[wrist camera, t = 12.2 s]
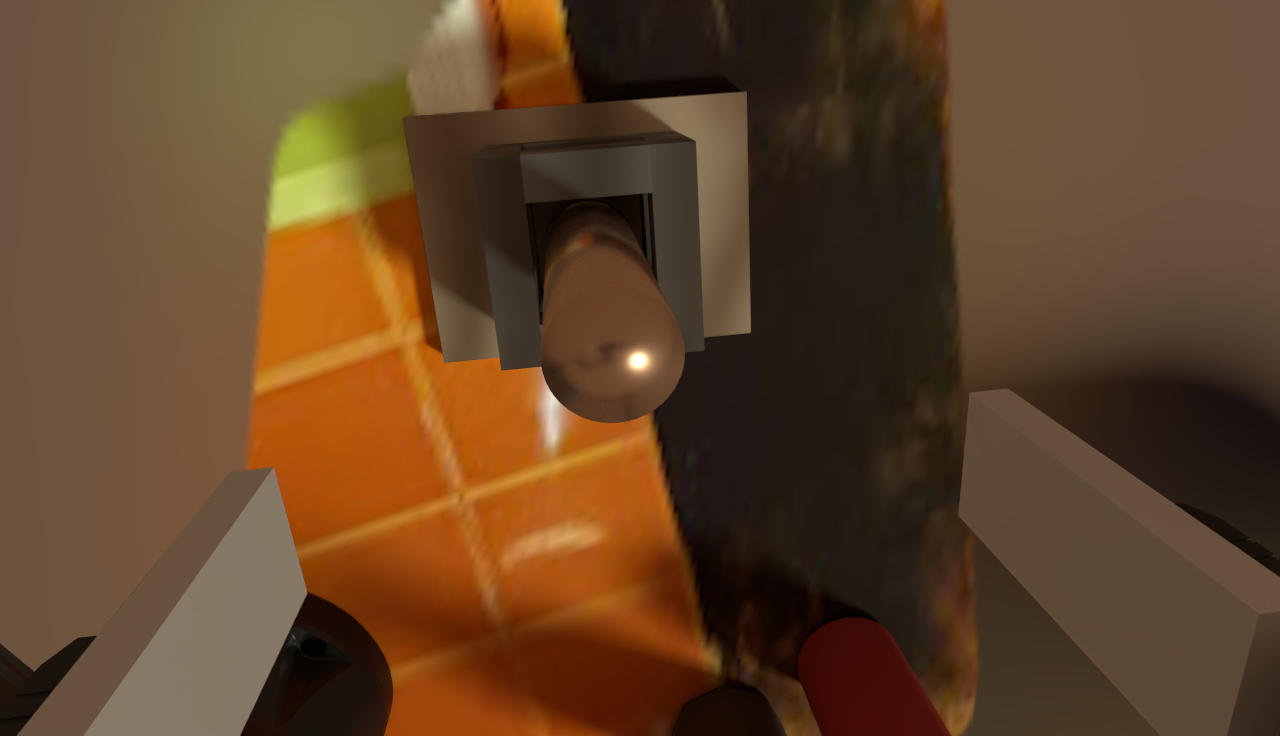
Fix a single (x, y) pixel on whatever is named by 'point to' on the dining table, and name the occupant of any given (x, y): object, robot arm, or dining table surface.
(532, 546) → the dining table surface
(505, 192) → the collar stand
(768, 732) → the beer bottle
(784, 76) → the dining table surface
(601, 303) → the copper tube
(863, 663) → the beer can
